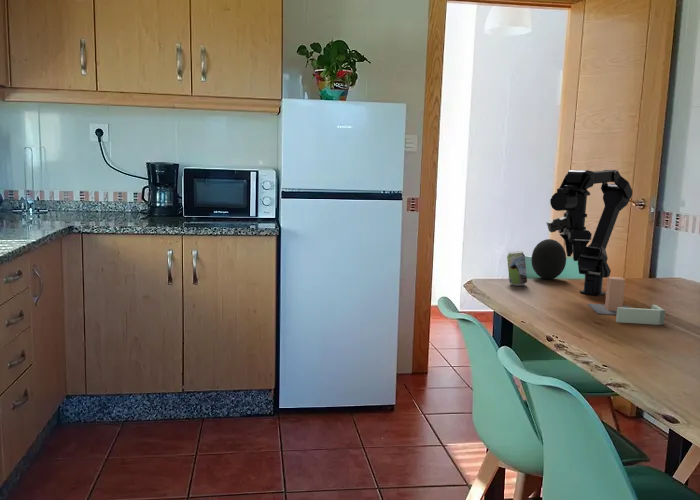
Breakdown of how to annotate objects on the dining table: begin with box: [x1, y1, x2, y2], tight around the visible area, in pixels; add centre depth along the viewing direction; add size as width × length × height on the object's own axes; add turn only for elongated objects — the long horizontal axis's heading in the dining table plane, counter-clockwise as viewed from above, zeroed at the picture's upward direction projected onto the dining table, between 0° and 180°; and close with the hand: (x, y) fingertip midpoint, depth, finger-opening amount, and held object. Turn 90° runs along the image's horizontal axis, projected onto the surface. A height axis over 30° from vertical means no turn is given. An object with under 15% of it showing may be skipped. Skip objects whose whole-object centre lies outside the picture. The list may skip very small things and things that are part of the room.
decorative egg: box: [530, 238, 567, 280], centre depth 229 cm, size 12×12×15 cm
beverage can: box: [506, 250, 528, 286], centre depth 217 cm, size 6×7×12 cm
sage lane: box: [615, 304, 666, 326], centre depth 172 cm, size 7×12×4 cm, turn 83°
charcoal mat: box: [587, 303, 631, 316], centre depth 184 cm, size 12×12×1 cm
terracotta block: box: [604, 276, 626, 311], centre depth 183 cm, size 4×4×10 cm
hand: (572, 258), depth 196 cm, fingers open, 9 cm apart
